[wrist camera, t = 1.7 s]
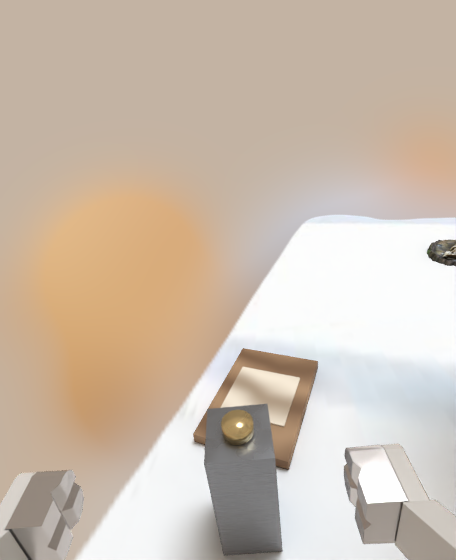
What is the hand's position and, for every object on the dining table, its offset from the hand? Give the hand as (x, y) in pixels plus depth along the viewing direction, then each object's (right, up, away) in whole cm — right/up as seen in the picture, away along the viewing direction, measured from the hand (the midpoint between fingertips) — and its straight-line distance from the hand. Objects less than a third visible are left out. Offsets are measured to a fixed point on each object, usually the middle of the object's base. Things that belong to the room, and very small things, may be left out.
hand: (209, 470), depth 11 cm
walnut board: (+5, -10, +35) cm, 36 cm away
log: (+49, +10, +65) cm, 82 cm away
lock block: (+3, -17, +22) cm, 28 cm away
